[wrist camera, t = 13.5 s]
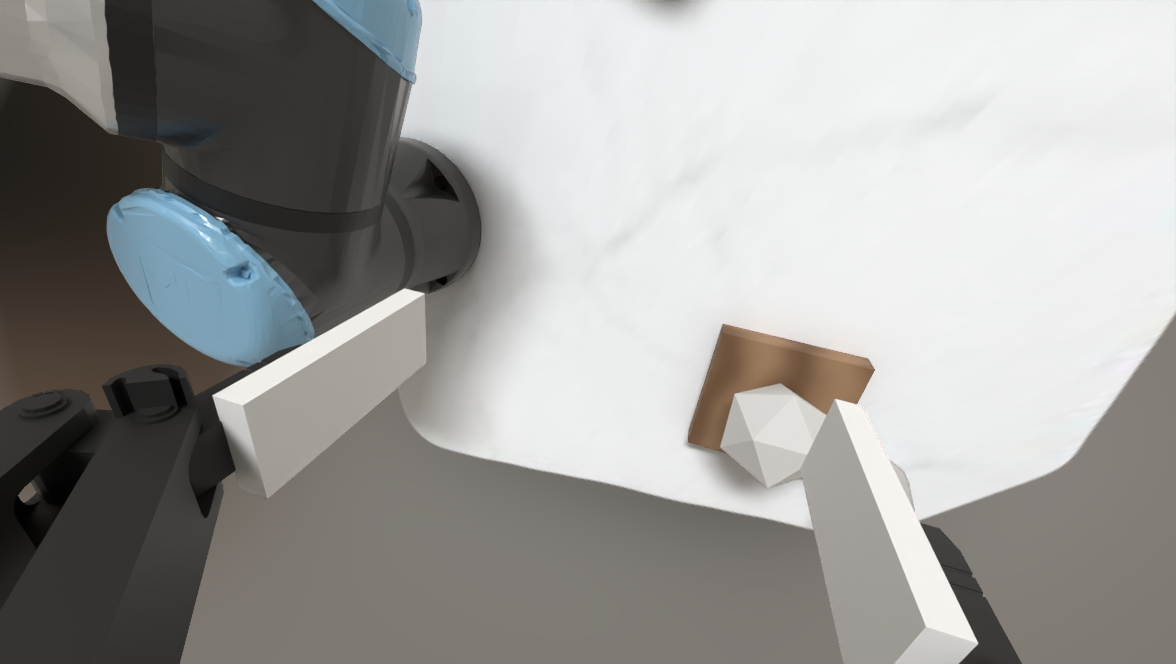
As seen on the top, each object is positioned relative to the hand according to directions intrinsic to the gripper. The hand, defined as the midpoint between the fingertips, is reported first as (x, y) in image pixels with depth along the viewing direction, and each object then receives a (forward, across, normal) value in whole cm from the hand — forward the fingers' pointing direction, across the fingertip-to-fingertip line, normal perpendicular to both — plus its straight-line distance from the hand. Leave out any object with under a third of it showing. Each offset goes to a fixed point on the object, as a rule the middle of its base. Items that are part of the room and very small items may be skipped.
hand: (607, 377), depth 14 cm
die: (+27, +13, -16) cm, 34 cm away
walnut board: (+29, +13, -16) cm, 35 cm away
